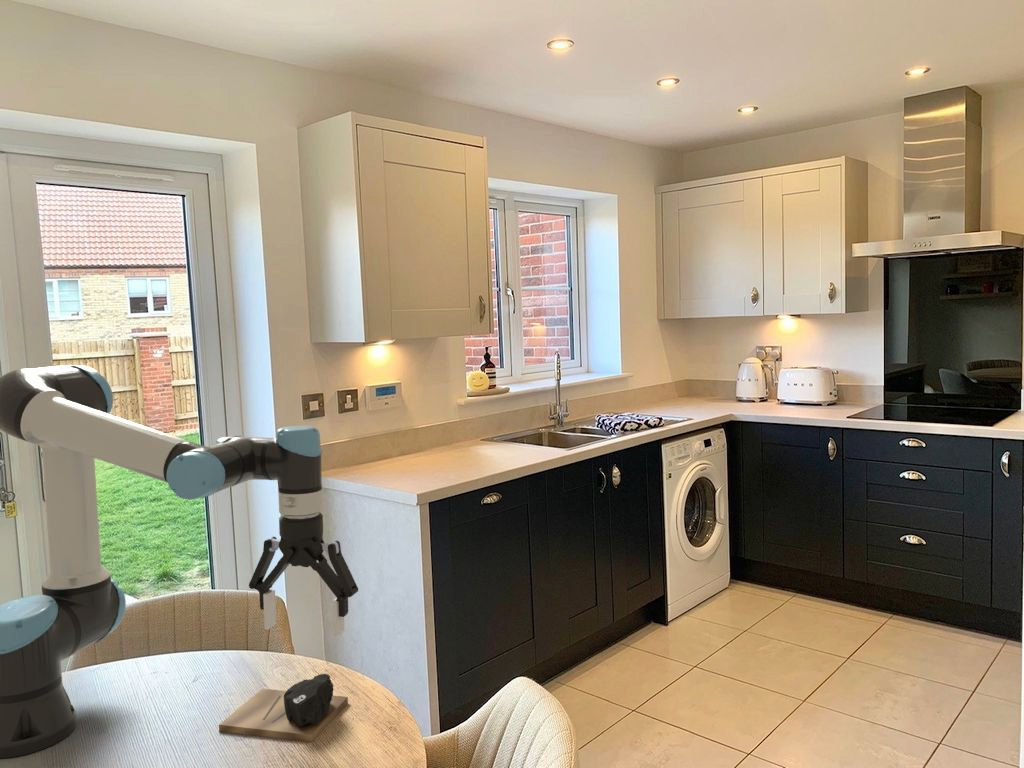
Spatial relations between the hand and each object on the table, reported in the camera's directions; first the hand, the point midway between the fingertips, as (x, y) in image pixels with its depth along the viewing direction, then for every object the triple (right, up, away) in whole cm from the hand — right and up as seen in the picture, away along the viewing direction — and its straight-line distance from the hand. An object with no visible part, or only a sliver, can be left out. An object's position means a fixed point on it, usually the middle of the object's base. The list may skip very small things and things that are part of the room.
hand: (304, 630), depth 141 cm
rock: (+1, -15, +1) cm, 16 cm away
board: (-4, -17, +2) cm, 17 cm away
